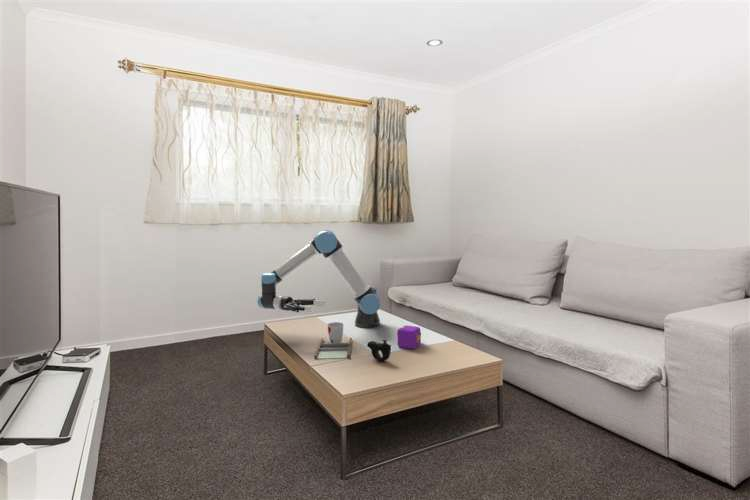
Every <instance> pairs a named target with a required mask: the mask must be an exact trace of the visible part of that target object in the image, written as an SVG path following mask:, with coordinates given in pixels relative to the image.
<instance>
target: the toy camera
mask: <svg viewBox="0 0 750 500" xmlns="http://www.w3.org/2000/svg"><path fill="white" fill-rule="evenodd" d="M396 334H397V337H396V338H397V339H396V340H397V346H398V347H399V348H403V349H410V350H414V349H416V348H417V347H418V346H420V345H421V338H422V333H421V328H420V326H415V325H404V326H401V327H400V328H398V329H397V333H396Z"/></svg>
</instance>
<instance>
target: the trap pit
mask: <svg viewBox="0 0 750 500" xmlns="http://www.w3.org/2000/svg"><path fill="white" fill-rule="evenodd" d="M348 345H349V342H343V343H342V342H341V343H331V342H330V343H323V344H321V348H320V351H348Z"/></svg>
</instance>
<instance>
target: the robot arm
mask: <svg viewBox="0 0 750 500" xmlns="http://www.w3.org/2000/svg"><path fill="white" fill-rule="evenodd" d="M321 254H322V255H323V257H324V258H325V260H326V259H327V260H329V261H330V262H331V264H332V265H333V267H334V268H335V269H336V271H337V272H338V274H339V275H340V276H341V278H342V280H344V282H345V283H346V284H347V286H348V287H349V289H350V290H351V292H352V293H353V299H354V300H355V303H356V305H357V307H356V308H357V311H356V316H355V319H354V326H356V327H359V328H365V329H367V328H376V327H378V326H380V325H381V319H380V316H379V314H378V311H379V309H380V308H381V299H380V297H379V296H378V295H377V292H378V289H377V287H376V286H371V285H368V284H367V283H365V281H364V280H363V278H362V277H361V275H360V274H359V272H358V271H357V270H356V268H355V267H354V265H353V264H352V263H351V260H350V259H349V258H348V257H347V256H346V254H345V253H344V251H343V245H342V243H341V242H340V241H339V239H338V238H337V236H336V235H335V233H334V232H333V231H331V230H328V229H322V230H321V231H319V232H318V233H317V234H316V235H315V236H314V237H313V238H312V239H311V240H310V241H309V244H306V246H305V247H303V248H302V249H300V250H299V251H298V252H296V253H295V254H293V256H291V257H290V258H288V259H287V260H286V261H284V262H283V263H282V264H281V265H279V266H278V267H276V268H275V269H274V270H272V271H271V272H267V273H262V274H261V278H260V282H261V294H260V295H259V296H258V297H257V298H258V299H257V305H258V307H259V308H261V309H267V310H278V311H279V312H280V311H285V312H286V311H291V312H294V313H295V312H296V313H299V312H307V313H310V312H312V306H318V307H325V300H316V299H315V298H312V299H306V298H305V299H302V298H301V299H299V298H298V299H293V298H292V296H287V295H286V296H284V295H277V289H276V288H277V287H276V286H277V285H278V284H279V283H281V282H282V281H284V280H285V279H286V278H287V277H289V276H290V275H292V274H293V273H294V272H296V271H297V270H298V269H300V268H301V267H302V266H303V265H305V264H306V263H307V262H309V261H310V260H311V259H313V258H315V256H317V255H321Z"/></svg>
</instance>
